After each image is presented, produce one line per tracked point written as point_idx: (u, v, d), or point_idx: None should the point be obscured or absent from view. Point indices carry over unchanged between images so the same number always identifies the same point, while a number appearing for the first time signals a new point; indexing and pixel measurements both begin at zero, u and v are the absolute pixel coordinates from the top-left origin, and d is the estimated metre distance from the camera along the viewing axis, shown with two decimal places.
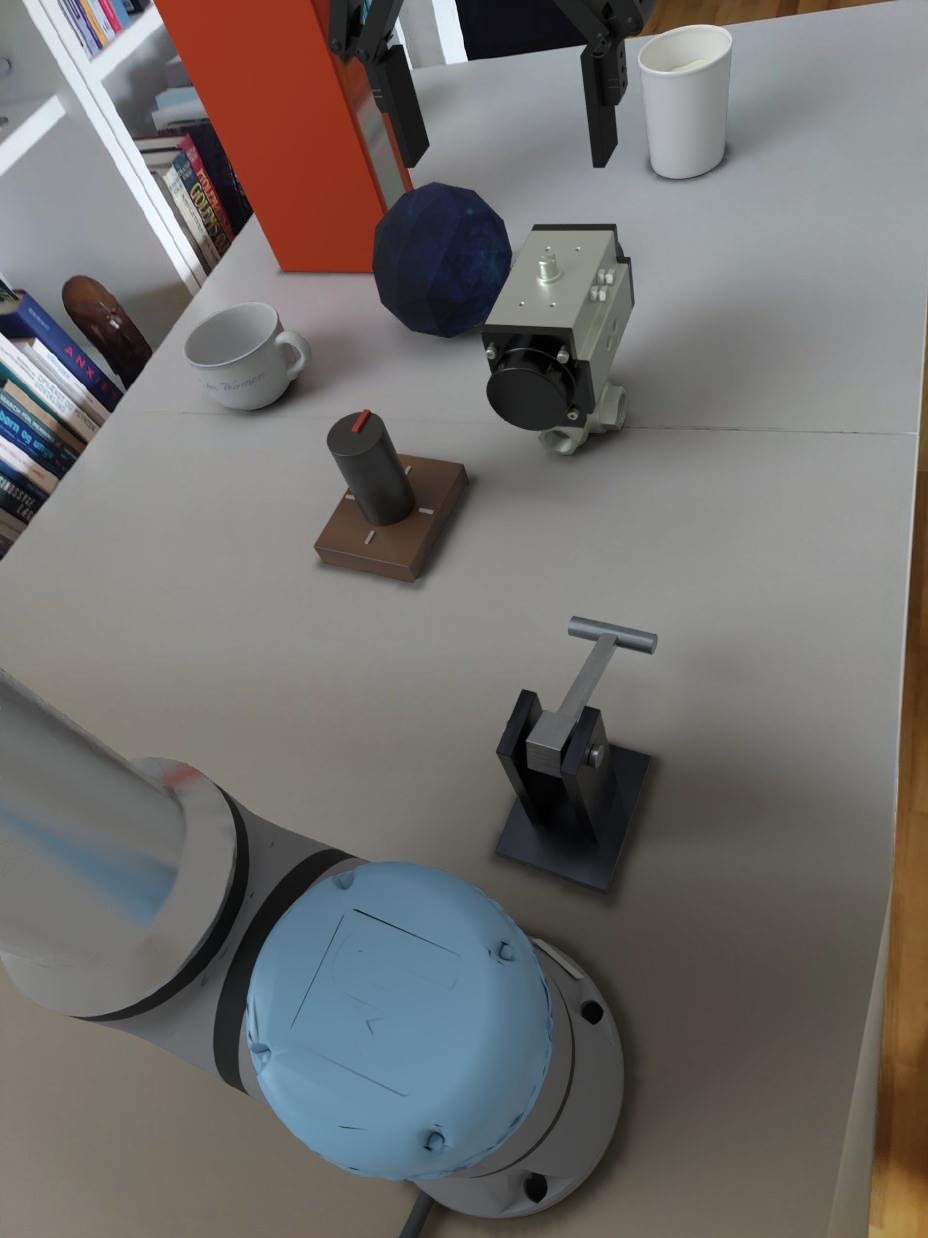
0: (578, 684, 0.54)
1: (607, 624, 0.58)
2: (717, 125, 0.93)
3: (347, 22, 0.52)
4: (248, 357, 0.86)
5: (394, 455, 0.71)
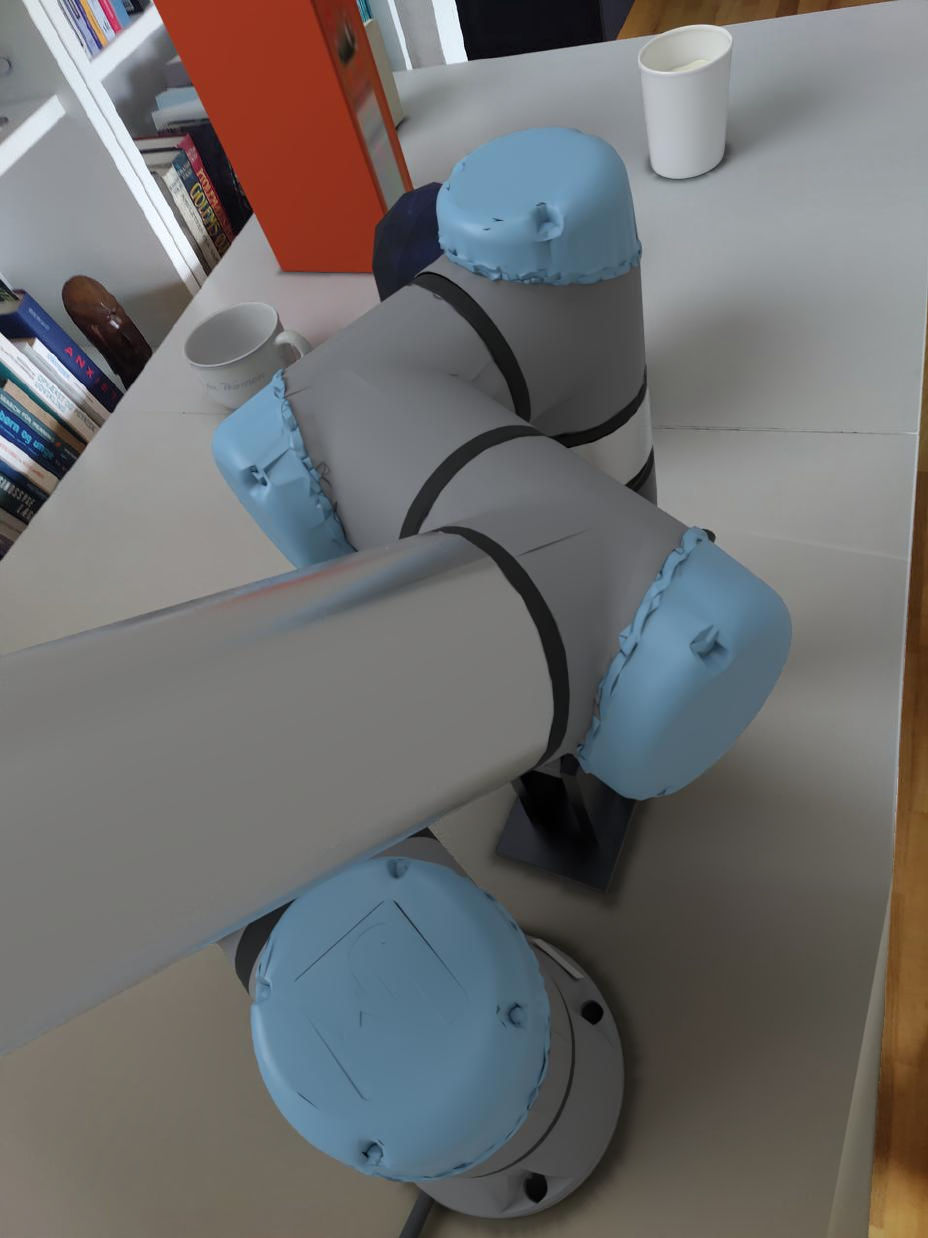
0: None
1: None
2: (717, 125, 0.93)
3: None
4: (248, 357, 0.86)
5: None
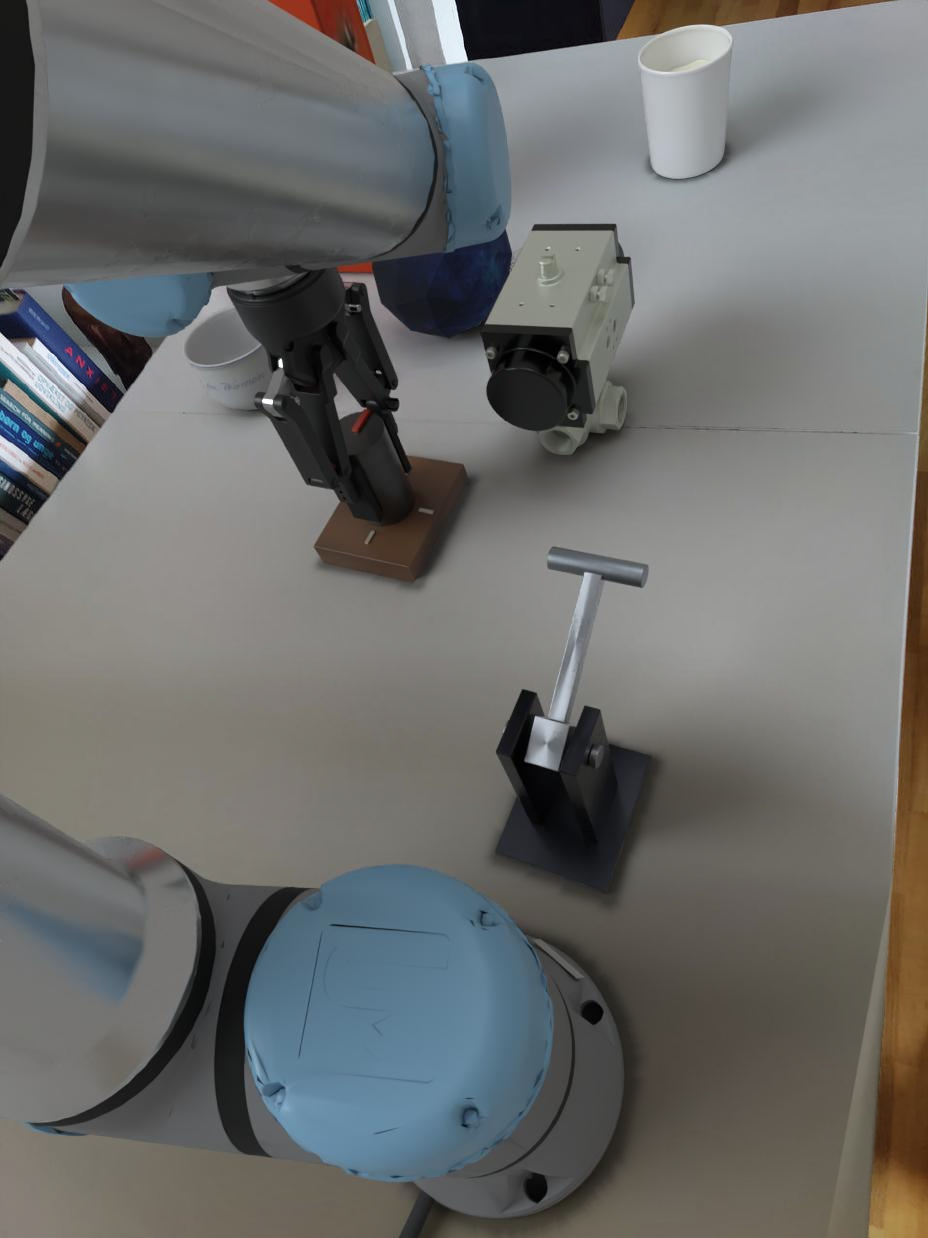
0: (567, 662, 0.51)
1: (588, 560, 0.51)
2: (717, 125, 0.93)
3: None
4: (248, 357, 0.86)
5: (394, 455, 0.71)
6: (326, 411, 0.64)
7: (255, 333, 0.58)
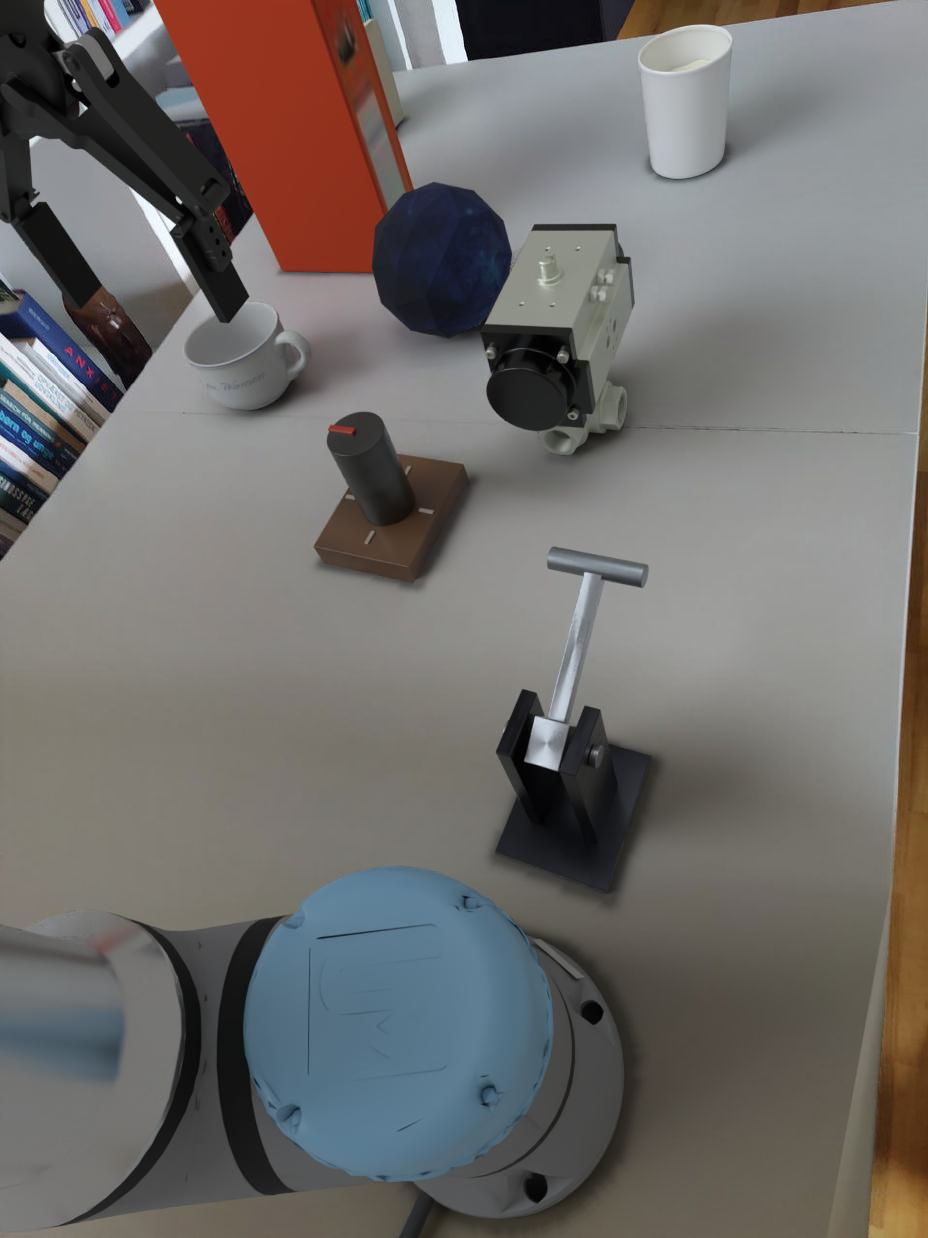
0: (567, 662, 0.51)
1: (588, 560, 0.51)
2: (717, 125, 0.93)
3: None
4: (248, 357, 0.86)
5: None
6: None
7: (9, 10, 0.42)
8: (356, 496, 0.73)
